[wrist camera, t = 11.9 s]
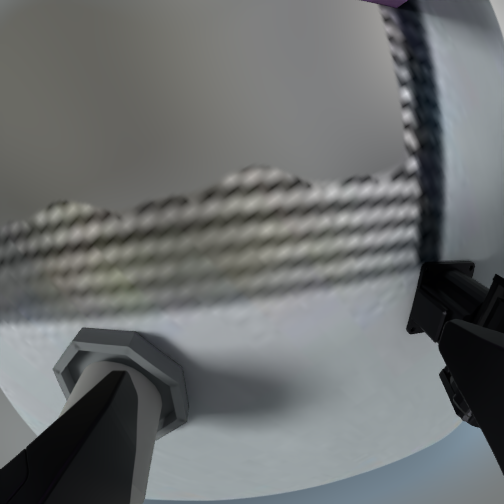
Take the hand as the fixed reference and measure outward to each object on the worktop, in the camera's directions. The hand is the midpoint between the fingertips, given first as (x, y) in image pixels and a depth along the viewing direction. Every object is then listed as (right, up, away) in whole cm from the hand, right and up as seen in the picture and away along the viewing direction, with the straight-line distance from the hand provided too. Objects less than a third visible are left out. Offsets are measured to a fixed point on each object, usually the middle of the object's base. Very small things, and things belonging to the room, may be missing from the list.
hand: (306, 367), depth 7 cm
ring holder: (-13, -9, +16) cm, 22 cm away
